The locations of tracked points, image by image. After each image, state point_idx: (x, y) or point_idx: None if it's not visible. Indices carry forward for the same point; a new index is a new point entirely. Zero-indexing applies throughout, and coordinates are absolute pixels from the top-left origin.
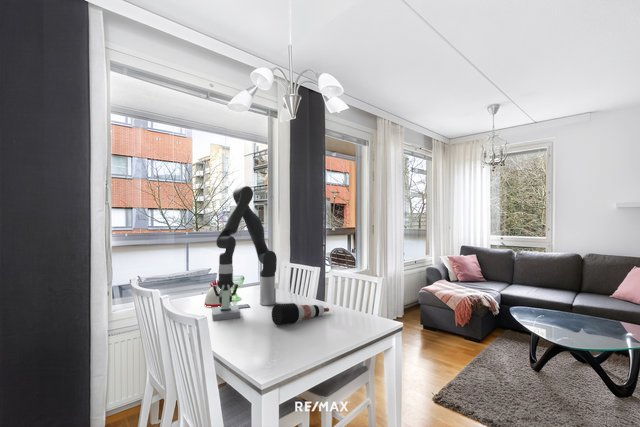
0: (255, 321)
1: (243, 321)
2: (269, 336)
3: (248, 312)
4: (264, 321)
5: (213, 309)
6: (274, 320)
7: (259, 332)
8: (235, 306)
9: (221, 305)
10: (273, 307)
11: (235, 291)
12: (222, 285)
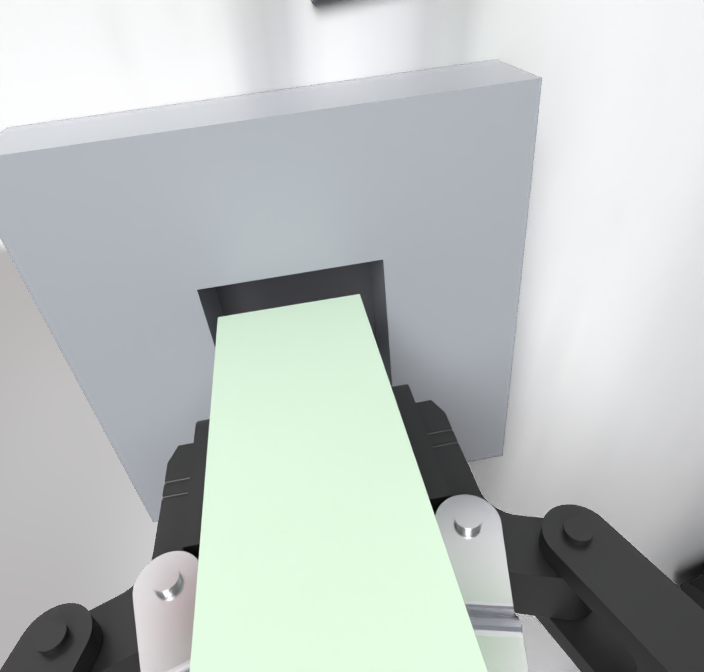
0: (587, 500)
1: (488, 496)
2: (574, 665)
3: (625, 228)
4: (654, 502)
5: (66, 313)
6: (700, 604)
7: (543, 636)
8: (482, 184)
9: (217, 346)
10: None
11: (626, 661)
12: None
